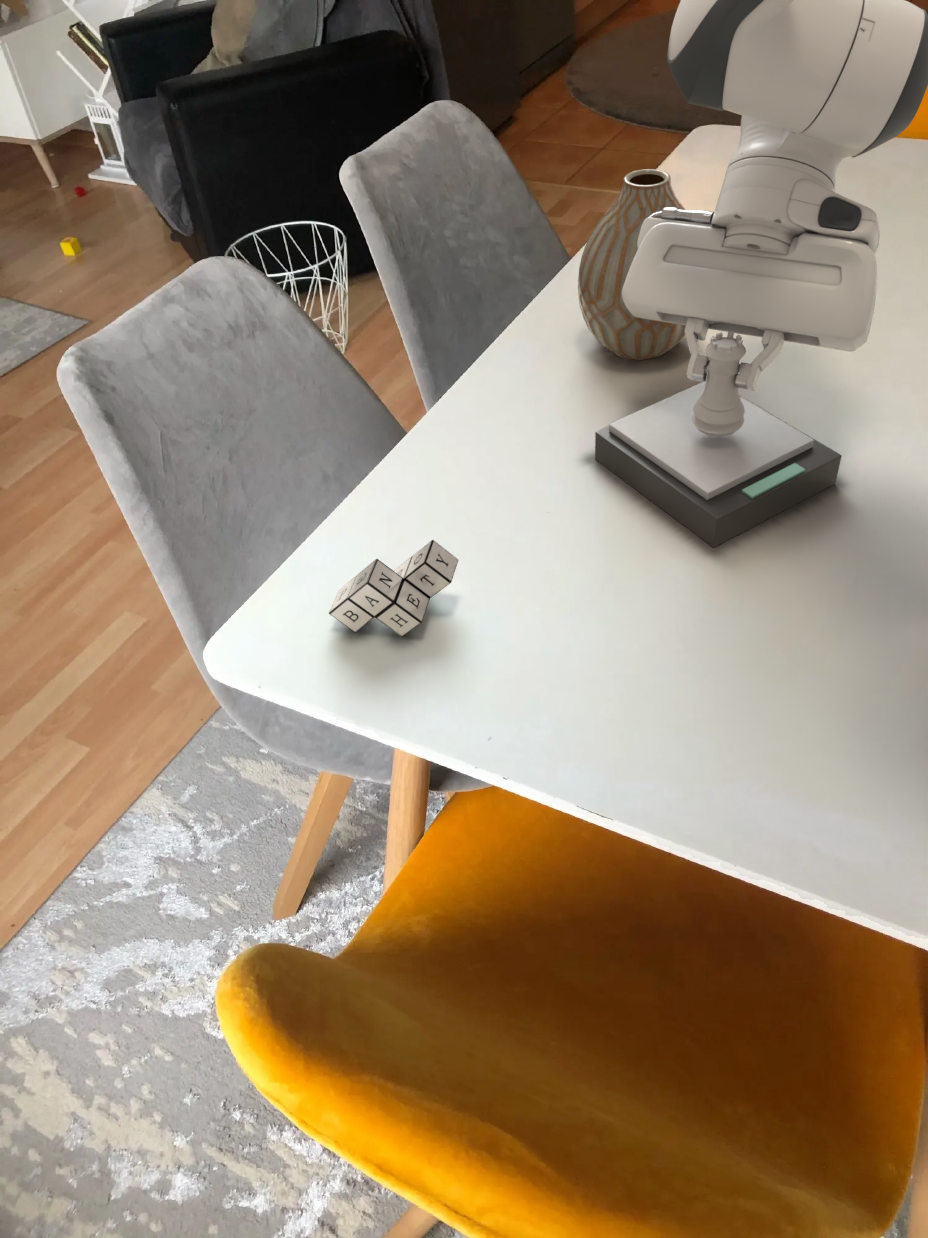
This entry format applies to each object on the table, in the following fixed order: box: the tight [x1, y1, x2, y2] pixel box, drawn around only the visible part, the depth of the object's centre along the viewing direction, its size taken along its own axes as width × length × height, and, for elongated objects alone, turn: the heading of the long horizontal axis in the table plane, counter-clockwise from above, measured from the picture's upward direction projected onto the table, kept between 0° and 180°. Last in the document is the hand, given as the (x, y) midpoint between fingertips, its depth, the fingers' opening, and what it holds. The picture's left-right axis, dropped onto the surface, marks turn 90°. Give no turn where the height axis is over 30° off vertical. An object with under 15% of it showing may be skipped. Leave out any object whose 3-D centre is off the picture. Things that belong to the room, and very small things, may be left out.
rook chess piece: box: [691, 331, 747, 436], centre depth 80 cm, size 4×4×8 cm
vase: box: [577, 168, 686, 361], centre depth 97 cm, size 13×13×18 cm
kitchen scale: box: [594, 380, 843, 548], centre depth 85 cm, size 16×14×4 cm
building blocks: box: [328, 539, 459, 638], centre depth 75 cm, size 5×5×8 cm
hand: (720, 383), depth 80 cm, fingers closed on rook chess piece, 3 cm apart
